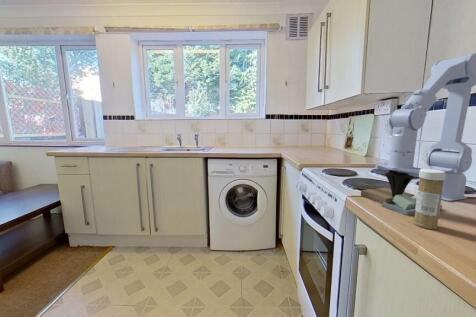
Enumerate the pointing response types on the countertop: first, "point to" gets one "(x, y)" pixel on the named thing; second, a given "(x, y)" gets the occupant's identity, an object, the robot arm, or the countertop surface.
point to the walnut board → (380, 195)
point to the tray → (400, 208)
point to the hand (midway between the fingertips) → (396, 197)
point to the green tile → (405, 201)
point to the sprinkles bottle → (429, 198)
